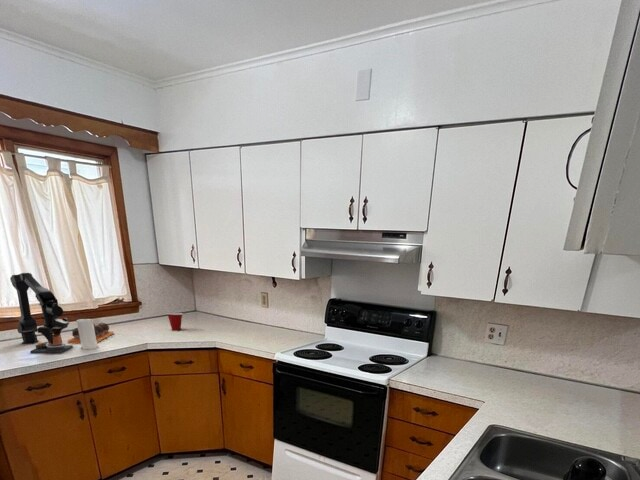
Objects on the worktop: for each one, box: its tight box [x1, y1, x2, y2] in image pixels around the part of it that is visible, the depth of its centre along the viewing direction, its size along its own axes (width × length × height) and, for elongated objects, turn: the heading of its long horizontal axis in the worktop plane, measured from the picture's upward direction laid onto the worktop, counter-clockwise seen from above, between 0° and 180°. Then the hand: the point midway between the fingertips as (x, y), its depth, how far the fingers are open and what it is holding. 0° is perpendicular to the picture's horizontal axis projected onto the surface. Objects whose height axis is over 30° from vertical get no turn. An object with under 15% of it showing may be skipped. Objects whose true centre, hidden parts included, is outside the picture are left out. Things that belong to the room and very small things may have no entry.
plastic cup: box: [166, 311, 184, 332], centre depth 300 cm, size 11×11×12 cm
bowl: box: [47, 334, 63, 345], centre depth 239 cm, size 7×7×5 cm
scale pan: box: [43, 341, 66, 347], centre depth 241 cm, size 14×11×1 cm
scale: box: [29, 344, 74, 355], centre depth 241 cm, size 16×14×3 cm
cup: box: [76, 318, 98, 350], centre depth 247 cm, size 8×8×16 cm
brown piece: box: [67, 322, 115, 344], centre depth 270 cm, size 28×17×8 cm, turn 4°
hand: (55, 342), depth 240 cm, fingers closed on bowl, 7 cm apart
